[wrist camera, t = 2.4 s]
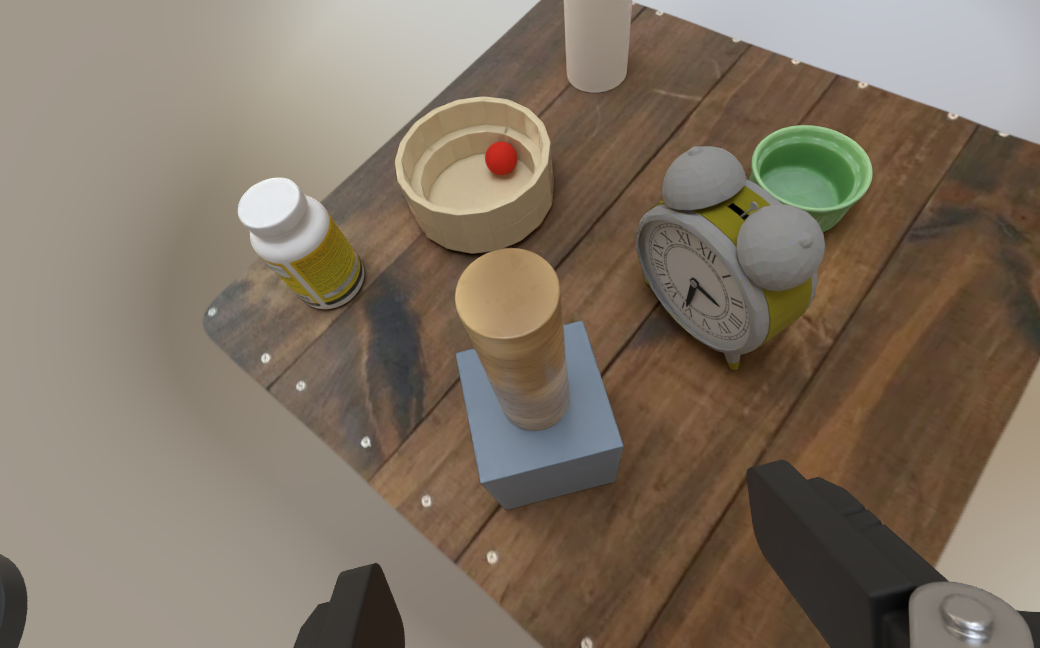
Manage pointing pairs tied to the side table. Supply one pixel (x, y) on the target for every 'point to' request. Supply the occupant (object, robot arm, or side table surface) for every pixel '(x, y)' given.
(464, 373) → the upright slate-blue block
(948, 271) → the side table surface
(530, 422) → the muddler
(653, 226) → the alarm clock
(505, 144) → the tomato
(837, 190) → the ramekin
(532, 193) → the bowl
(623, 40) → the candle
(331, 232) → the pill bottle
